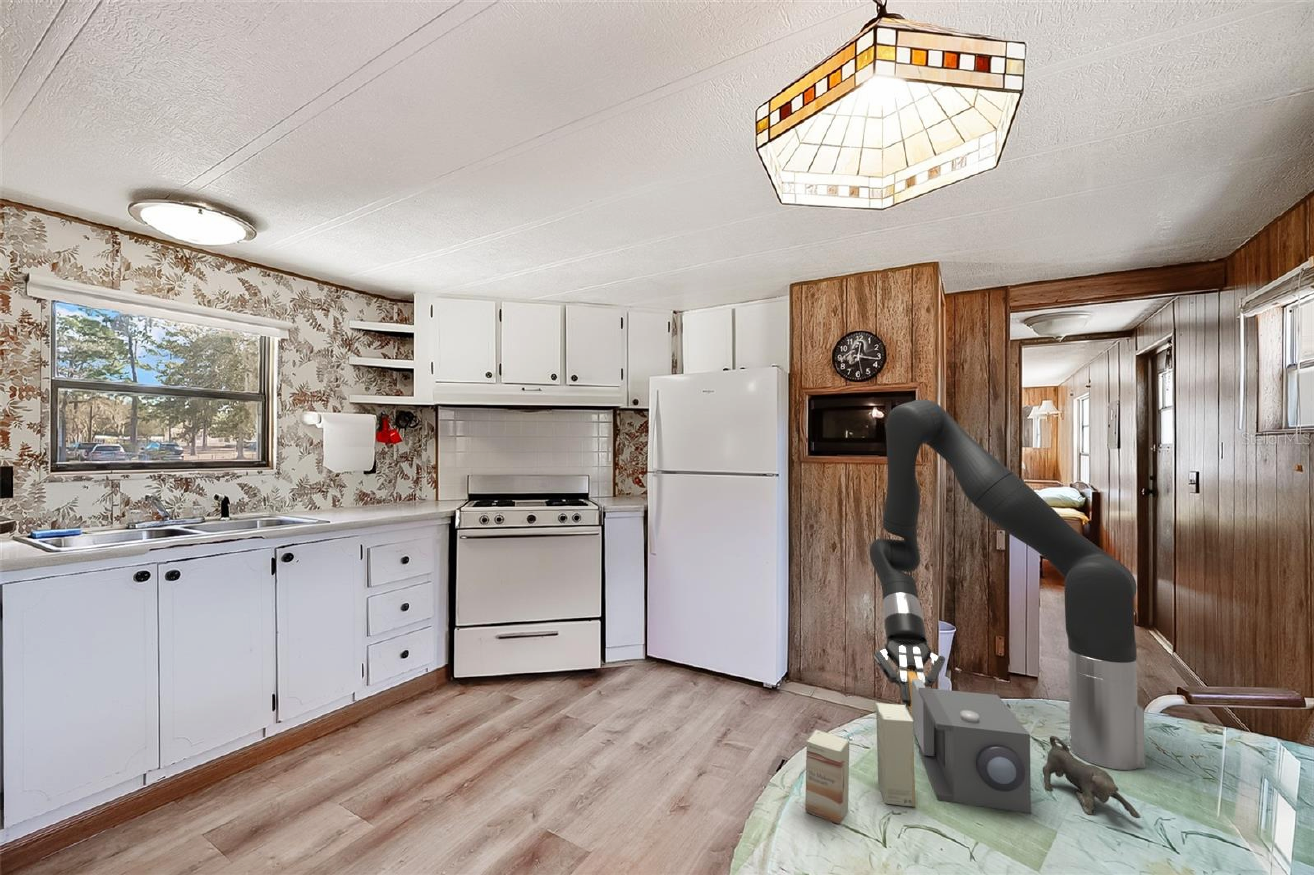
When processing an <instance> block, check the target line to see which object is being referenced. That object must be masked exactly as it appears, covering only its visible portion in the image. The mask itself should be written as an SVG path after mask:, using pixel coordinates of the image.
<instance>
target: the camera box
mask: <svg viewBox="0 0 1314 875" xmlns="http://www.w3.org/2000/svg"><path fill="white" fill-rule="evenodd" d="M918 692H919V694H920V696H921V698H922V700H923V702H924V705H925V707H926V709H927V711H928V713H929V715H930V717H931V719H932V721H933V723H934V756H928V755H923V752H922V750H921V747H918V754H919V756H920V760H921V761H922V764H923V767H924V769H925V773H926V774H927V777H928V779H929V783H930V785H931V787H932V790H933V792H934V796H935V797H936V800H937V801H942V802H943V801H944V802H950V803H955V804H956V803H957V804H963V805H970V806H977V807H985V808H991V809H997V810H998V809H999V810H1005V811H1012V812H1013V811H1014V812H1020V813H1025V814H1032V794H1031V793H1032V792H1031V790H1032V788H1031V785H1032V784H1031V783H1032V782H1031V779H1032V778H1031V734H1030V732H1028V730H1027V729H1026V728H1025V727H1024V725H1023V723H1021V722H1020V721H1019V719H1018V718H1017V717H1016V716H1015V715H1014V713H1013V711H1011V709H1010V708H1009V707H1008V705H1007V704H1006V703H1005V702H1004V701H1003V699H1002V698H1001V697H1000V696H999V695H998V694H990V693H980V692H969V691H960V690H959V691H958V690H950V689H949V690H948V689H938V688H932V687H928V688H927V687H926V688H920V687H918Z"/></svg>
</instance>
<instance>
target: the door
mask: <svg viewBox="0 0 1314 875" xmlns="http://www.w3.org/2000/svg"><path fill="white" fill-rule="evenodd" d="M907 683H909V690H910V697H911V705H910V707H908V706H907V707H908V711H909V714H910V715H911V717H912V719H913V734H915V737H916V740H917V742H918V745H919V748H921V750H922V752H923V755H928V756H934V723H933V721H932V719H931V717H930V715H929V713H928V711H927V709H926V707H925V705H924V702H923V700H922V698H921V696H920V694H919V692H918V687H920V688H927V687H925V685H924V683H923V681H922V680H921V679H918V677H917V675H916V673H915V671H913V670H910V669H908V670H907Z"/></svg>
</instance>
